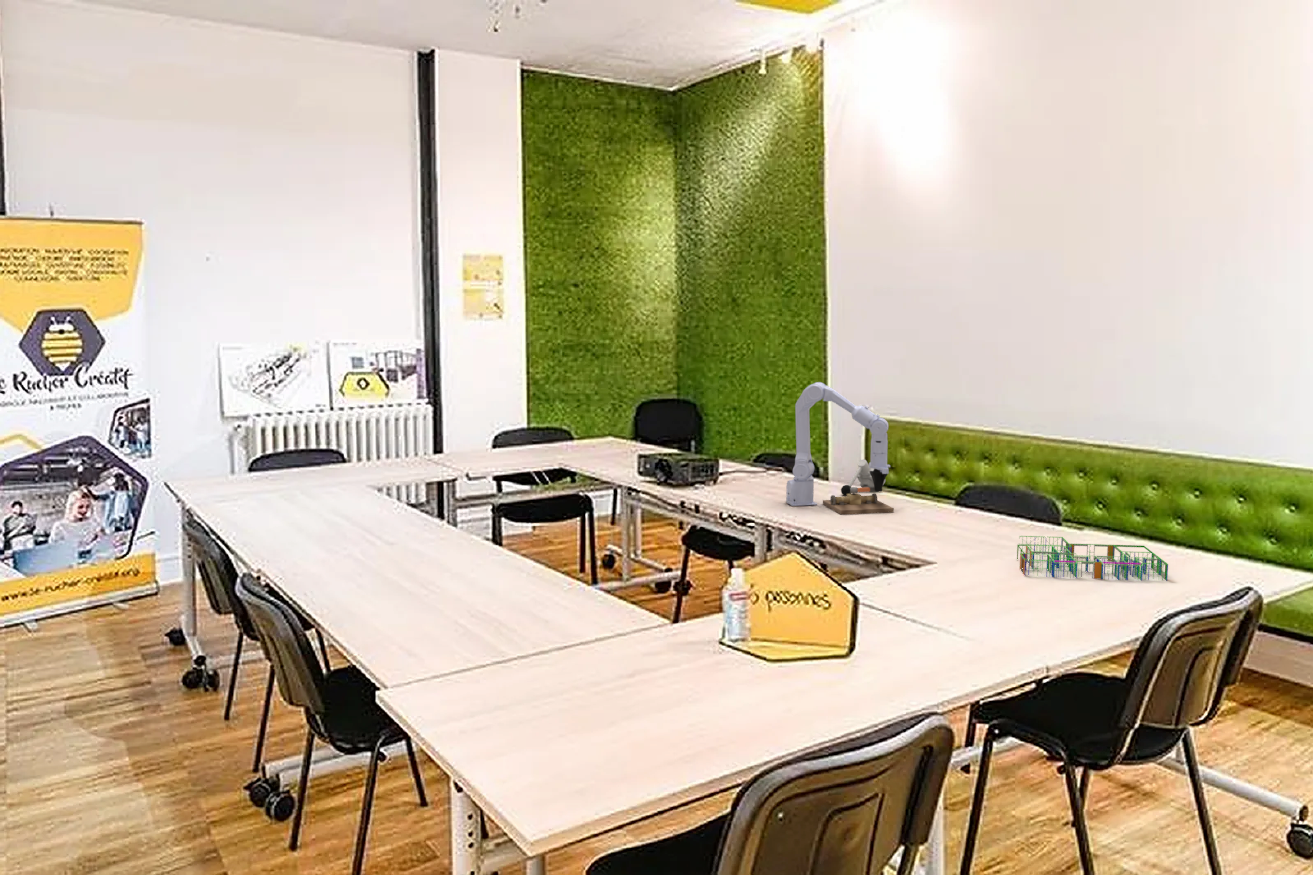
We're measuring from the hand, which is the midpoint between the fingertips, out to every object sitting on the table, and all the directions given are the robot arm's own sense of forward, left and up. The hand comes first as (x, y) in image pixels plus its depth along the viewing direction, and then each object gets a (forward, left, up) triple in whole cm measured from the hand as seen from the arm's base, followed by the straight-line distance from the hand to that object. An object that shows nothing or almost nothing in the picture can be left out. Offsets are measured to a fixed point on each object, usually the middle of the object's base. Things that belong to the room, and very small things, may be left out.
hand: (878, 491), depth 357 cm
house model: (+24, -87, -7) cm, 91 cm away
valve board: (-7, +1, -6) cm, 10 cm away
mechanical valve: (+5, +29, -6) cm, 30 cm away
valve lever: (-4, +2, 0) cm, 4 cm away
